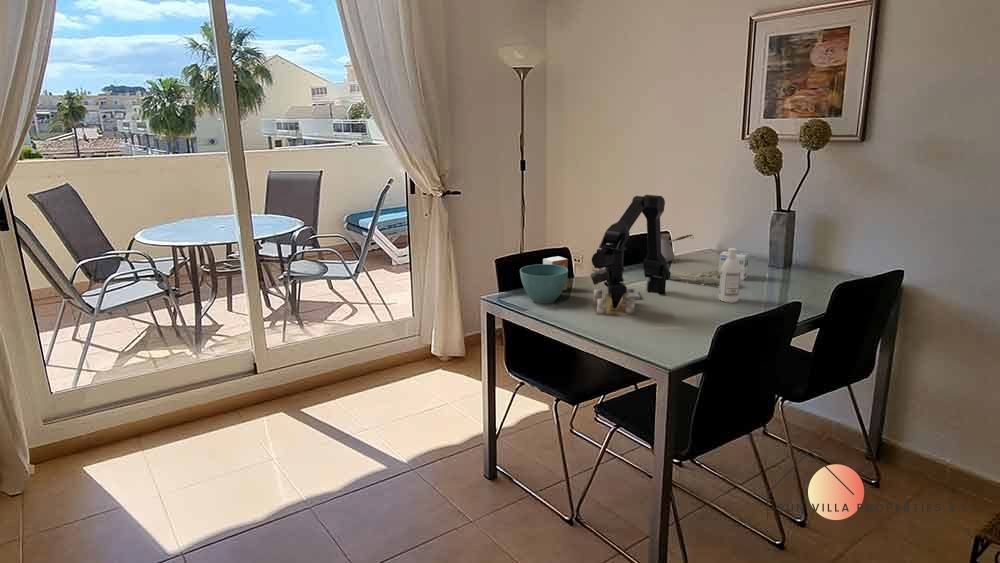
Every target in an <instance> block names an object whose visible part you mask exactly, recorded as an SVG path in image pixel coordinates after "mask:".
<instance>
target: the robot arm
mask: <svg viewBox="0 0 1000 563" xmlns="http://www.w3.org/2000/svg"><path fill="white" fill-rule="evenodd" d="M665 205H666V200H665V197H663V196H661V195H657V194H655V195H654V194H645V195H643V196H641V195H635V196H633V198H632V201H631V203H630V204H629V206H628V207H627V209H626V210H625V212H624V213H623V214H622V216H621V217H620V218H619V220H618V221H616V222H615V223H613V224H611V225H610V226H609V227H608V228H607V229H606V230H605V232H604V234H603V237H602V239H601V242H600V243H599V246H598V248H597V249H596V252H594V254H592V256H591V263H592V266H593V267H594V268H595V269H599V270H597V271H595V272H592V273H590V274H589V275H590V278H591V281H592V283H593V284H592V285H594V286H595V285H599V284H601V283H603V284H604V286H605V287H606V288H607V289H608V290H607V289H606V292H607V291H608V293H610V294H611V297H612V304H613V308H617V306H618V304H619V302H620V300H621V298H622V296H623V295H624V293H627V288H628V287H627V286H626V284H625V283H624V277H623V275H624V274H623V273H624V271H625V267H624V253H625V252H624V251H626V250H628V248H627V247H626V246H625V245H626V244H627V242H628V240H629V238H630V230H631V229H632V227H633V226H634V224H635V222H636V221H637V219H638V218H639V217H640V215H641V214H643V216H644V217H645V219H646V234H647V255H646V257H645V259H643V261H642V263H643V267H642V270H643V273H644V277H645V278H648V280H646V292H647V293H653V294H658V296H659V295H660V296H663V295H664V296H666V295H667V292H666V287H667V286H666V283H667V281H670V280H669V279H670V275H671V273H670V271H669V270H670V269H669V268H668V266H667V263H666V260H665V258H664V257H663V255H662V254H661V234H662V233H661V216H662V215H663V213H664V211H665Z"/></svg>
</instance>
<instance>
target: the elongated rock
mask: <svg viewBox="0 0 1000 563" xmlns="http://www.w3.org/2000/svg"><path fill="white" fill-rule="evenodd" d="M668 270H669V271H670V273H671V275H670V280H669V281H673V280H675V281H674V282H680V281H684V282H683V283H686V282H688V283H687V284H693V283H697V284H696V285H700V284H704V285H703V286H705V285H714V286H720V276H721V273H719V270H711V271H706V272H704V271H703V272H697V273H696V272H695V273H694V272H688V271H678V270H674V269H673V270H672V269H671V270H670V269H668ZM714 286H713V287H714Z"/></svg>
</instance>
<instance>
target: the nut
mask: <svg viewBox="0 0 1000 563" xmlns="http://www.w3.org/2000/svg"><path fill="white" fill-rule="evenodd" d="M604 299H606V309H608V310H620V309H621V308H622V299H623V296H622V298H621V300H620V302H619V304H618V306H617V308H613V304H612V297H611V294H610V293H606V294H604Z"/></svg>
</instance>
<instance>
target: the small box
mask: <svg viewBox="0 0 1000 563" xmlns="http://www.w3.org/2000/svg"><path fill="white" fill-rule="evenodd" d="M568 262H569V260H568V258H565V257H563V256H559V255H557V256H551V257H547V258H543V259H542V264H551V265H559V266H563V267H566V268H567V269H568V265H569V263H568ZM566 290H567V291H568V279H567V280H566V283H565V286H564V289H563V291H566Z"/></svg>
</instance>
